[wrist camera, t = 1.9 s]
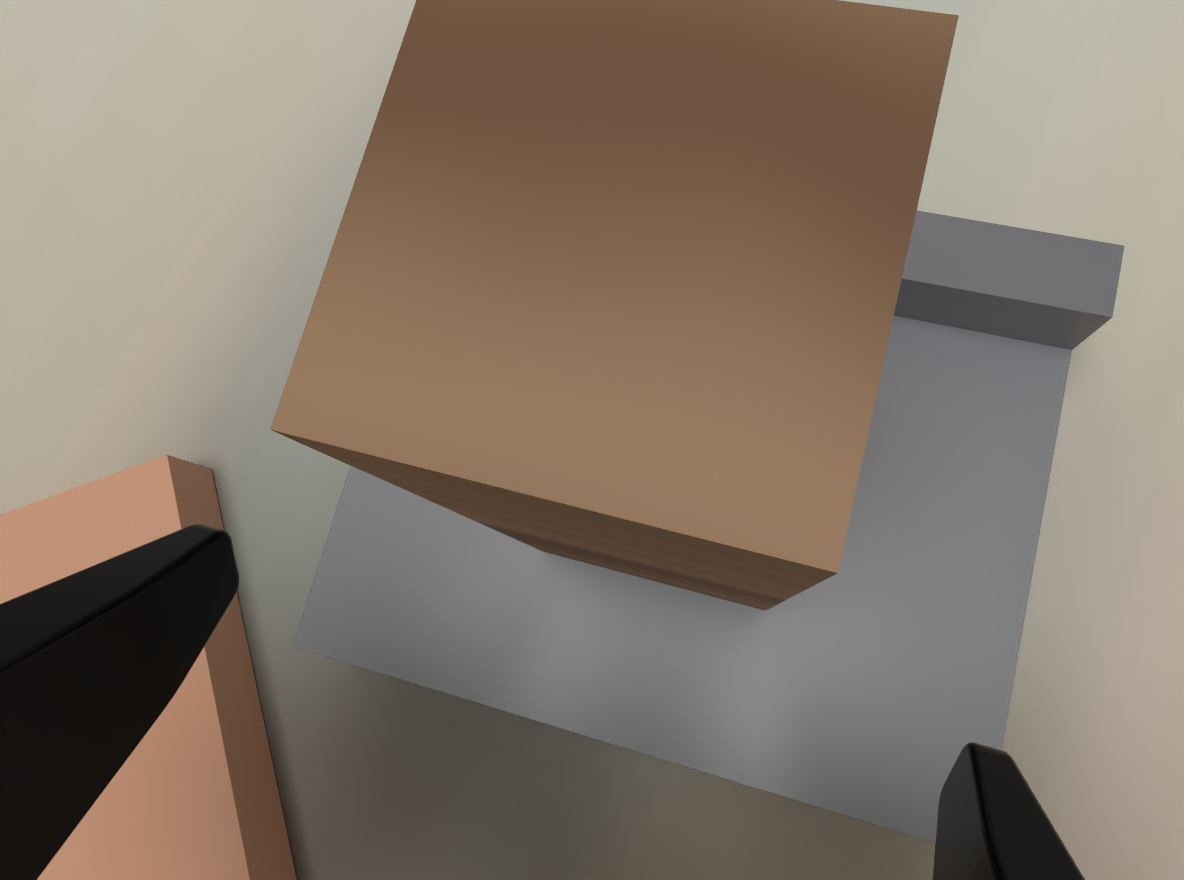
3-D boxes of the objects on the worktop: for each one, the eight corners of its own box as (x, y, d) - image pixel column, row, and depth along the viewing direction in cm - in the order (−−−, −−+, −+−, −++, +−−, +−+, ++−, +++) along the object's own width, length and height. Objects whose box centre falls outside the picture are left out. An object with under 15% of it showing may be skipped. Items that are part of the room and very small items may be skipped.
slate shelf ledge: (943, 824, 20) (1015, 886, 15) (348, 644, 23) (245, 647, 18) (1035, 332, 22) (1123, 245, 17) (478, 225, 25) (417, 125, 20)
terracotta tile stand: (306, 924, 21) (264, 953, 19) (-128, 1061, 22) (-210, 1102, 20) (211, 469, 24) (167, 455, 22) (-168, 604, 25) (-242, 602, 23)
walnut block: (765, 610, 18) (837, 573, 7) (542, 551, 19) (270, 429, 8) (816, 387, 19) (958, 15, 8) (600, 341, 20) (433, -51, 9)
